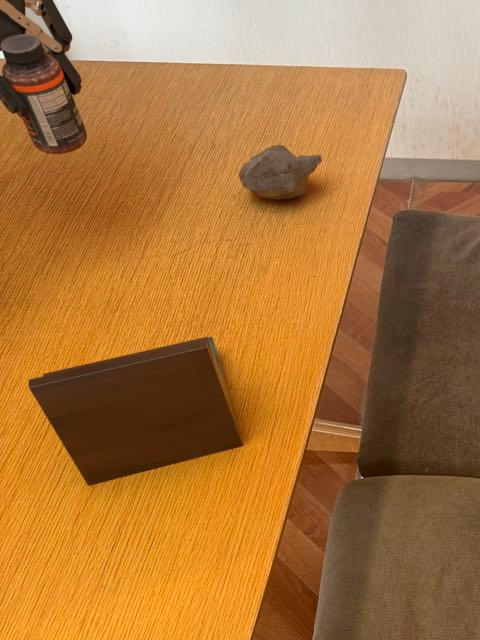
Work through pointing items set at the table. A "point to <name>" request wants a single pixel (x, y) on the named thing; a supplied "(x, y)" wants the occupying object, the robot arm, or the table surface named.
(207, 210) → the table surface
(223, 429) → the brown wooden box
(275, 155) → the fossil
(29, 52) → the supplement bottle
